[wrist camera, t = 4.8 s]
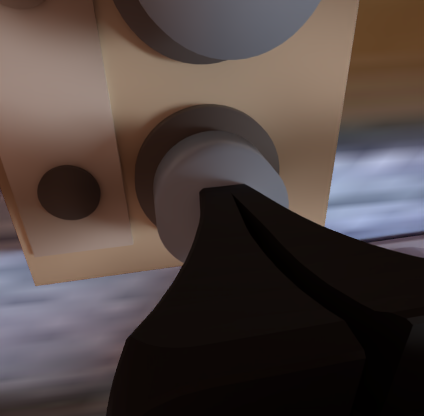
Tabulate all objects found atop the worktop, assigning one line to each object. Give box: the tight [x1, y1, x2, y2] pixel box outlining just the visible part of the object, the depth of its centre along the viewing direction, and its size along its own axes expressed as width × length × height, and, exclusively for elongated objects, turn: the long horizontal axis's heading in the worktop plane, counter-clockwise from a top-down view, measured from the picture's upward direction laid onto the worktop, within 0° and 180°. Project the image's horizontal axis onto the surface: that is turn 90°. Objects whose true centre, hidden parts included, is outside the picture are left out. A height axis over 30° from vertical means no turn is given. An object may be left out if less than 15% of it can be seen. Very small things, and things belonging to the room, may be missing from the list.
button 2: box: [153, 131, 289, 263], centre depth 12 cm, size 4×4×2 cm
